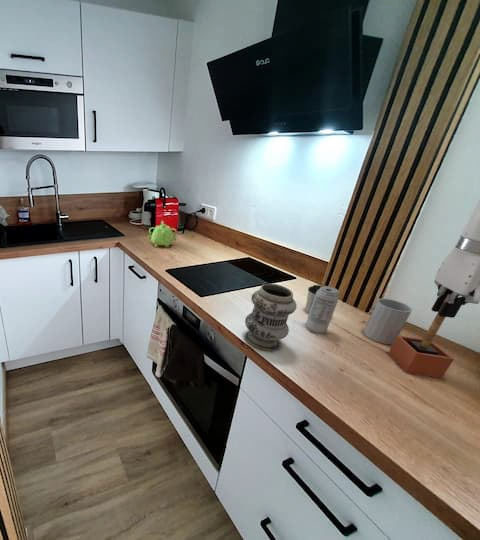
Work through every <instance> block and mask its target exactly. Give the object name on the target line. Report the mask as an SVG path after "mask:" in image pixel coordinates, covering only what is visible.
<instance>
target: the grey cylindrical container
mask: <svg viewBox="0 0 480 540" xmlns="http://www.w3.org/2000/svg"><path fill="white" fill-rule="evenodd" d="M412 312H413V309H412V307H410V306H409V305H408V304H405V303H403V302H401V301H398V300H394V299H390V298H383V297H382V298H378V299H377V300H376V302H375V304H374V306H373V309H372V310H371V313H370V316H369V318H368V319H367V321H366V324H365V327H364V329H363V334H364V335H365V336H366V338H369V339H371V340H372V341H373V342H377V343H379V344H384V345H392V344H393V342H394V340H395V338H396V336H397V335H399V336H401V333H402V331H403V329H404V328H405V325H406V323H407V321H408V319H409V317H410V316H411V313H412Z"/></svg>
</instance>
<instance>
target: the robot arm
mask: <svg viewBox="0 0 480 540" xmlns="http://www.w3.org/2000/svg"><path fill="white" fill-rule="evenodd" d="M470 214H471V215H470V216H469V217H468V220H467V222H466V224H465V226H464V228H463V230H462V232H461V234H460V235H459V238H458V239H457V241H456V243H455V245H454V246H453V247H452V248H451V250H450V251H449V252H448V254H447V255H446V256H445V258H444V260H443V261H442V263H441V264H440V265H439V267H438V270H437V271H436V274H435V276H434V284H435V286H436V287H437V292H436V296H437V298H436V299H435V301H434V303H433V305H432V307H431V311H432V312H435V313H438V312H439V313H438V315H439V316H442V317H445V318H450V319H454V318H455V317H456V316H457V314H458V312H459V311H460V309H461V307H462V306H466V304H475V305H478V304H480V198H479V199H478V201H477V203H476V205H475V207H474V208H473V210H472V213H470ZM448 294H452V295H451V296H450V298H449V300H448V302H444V301H445V299H446V297H447V295H448ZM443 303H444V304H443ZM442 304H443V306H442ZM441 306H442V308H441ZM440 308H441V309H440ZM439 310H440V311H439Z"/></svg>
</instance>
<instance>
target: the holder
mask: <svg viewBox="0 0 480 540" xmlns="http://www.w3.org/2000/svg"><path fill="white" fill-rule="evenodd" d="M423 339H424V338H419V337H412V336H405V335H397V336H396V338H395V340H394V342H393V344H391V347H390V348H389V351H388V353H387V354H388V355H389V356H390V357H391V358H392V359H393V360H394V361H395V362H396V363H397V364H398V365H399V366H400V368H402V369H403V371H404V372H405V373H408V374H415V375H422V376H427V377H434V378H438V379H443V378H444V375H446V372H448V369H449V368H450V366H451V365H452V363H453V361H454V360H455V359H454V357H452V356H451V355H450V354H448V353H447V352H446V351H445V350H443V349H442V348H441V347H440V346H439V345H438V344H436V343H435V342H434V341H432V342H431V344H430V346H431V347H432V348H433V349H435V350H436V351H437V352H438V353H437V355H432V354H425V353H419V352H417V351H416V350H415V349H413V348H412V347H411V346H410V345H409V343H410V341H415V342H422V340H423Z"/></svg>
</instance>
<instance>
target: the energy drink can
mask: <svg viewBox="0 0 480 540" xmlns="http://www.w3.org/2000/svg"><path fill="white" fill-rule="evenodd" d="M339 292H340V291H339V289H337V288H335V287H333V286H329V285H321V288H320V289H319V290H317V292H316V295H315V298H314V301H313V304H312V307H311V310H310V313H308V316H307V318H306V322H305V326H306V328H307V329H308V330H309V331H311V332H313V333H317V334H324V333H325V332H327V331H328V328H329V325H330V324H331V320H332V317H333V315H334V313H335V310H336V307H337V306H338V305H337V304H338V303H339V300H340V293H339Z"/></svg>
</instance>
